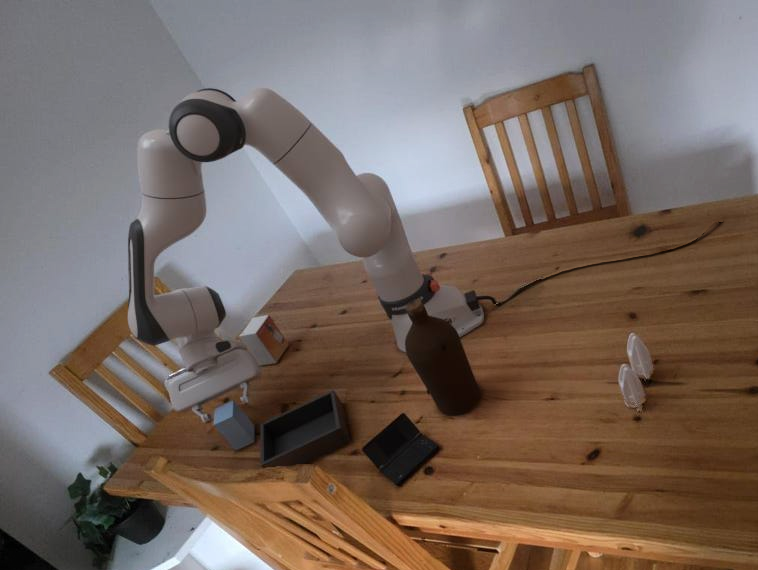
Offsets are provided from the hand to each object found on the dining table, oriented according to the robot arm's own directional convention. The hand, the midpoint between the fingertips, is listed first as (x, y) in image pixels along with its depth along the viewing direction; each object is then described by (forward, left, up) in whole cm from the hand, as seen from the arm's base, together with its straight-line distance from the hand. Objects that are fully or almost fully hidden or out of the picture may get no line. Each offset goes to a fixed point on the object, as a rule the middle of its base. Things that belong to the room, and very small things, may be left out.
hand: (227, 413), depth 133 cm
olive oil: (-48, +21, -8) cm, 53 cm away
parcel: (0, +1, -8) cm, 8 cm away
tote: (-15, +12, -8) cm, 21 cm away
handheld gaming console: (-34, +30, -8) cm, 46 cm away
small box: (-8, -29, -8) cm, 31 cm away
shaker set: (-79, +40, -8) cm, 89 cm away
